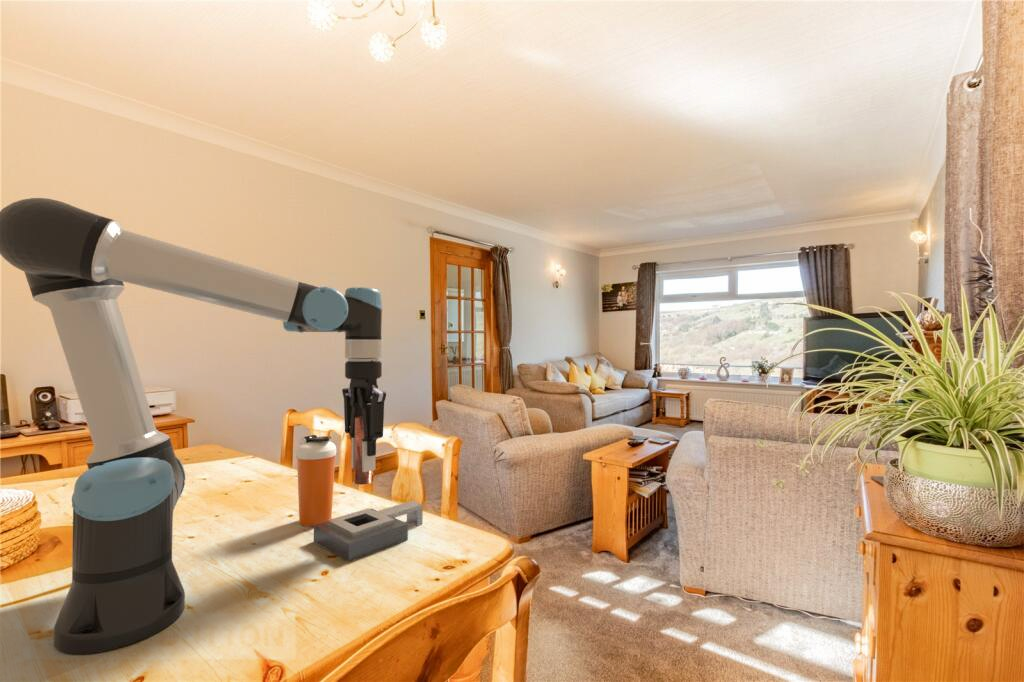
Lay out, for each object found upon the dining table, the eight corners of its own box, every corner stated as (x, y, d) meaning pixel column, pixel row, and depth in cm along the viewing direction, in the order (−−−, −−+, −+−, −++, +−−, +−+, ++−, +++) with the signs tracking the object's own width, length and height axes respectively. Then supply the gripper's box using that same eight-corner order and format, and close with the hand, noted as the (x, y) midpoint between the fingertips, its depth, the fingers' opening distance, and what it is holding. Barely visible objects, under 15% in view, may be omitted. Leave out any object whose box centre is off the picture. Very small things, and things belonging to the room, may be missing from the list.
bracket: (352, 555, 94) (352, 532, 95) (327, 541, 101) (327, 520, 101) (430, 526, 110) (430, 507, 110) (404, 516, 116) (404, 497, 116)
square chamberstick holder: (348, 561, 92) (348, 543, 92) (313, 541, 101) (313, 525, 101) (407, 539, 102) (407, 523, 102) (371, 523, 111) (371, 508, 111)
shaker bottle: (321, 529, 107) (322, 441, 107) (286, 526, 109) (287, 439, 109) (342, 515, 116) (344, 434, 116) (310, 512, 118) (311, 432, 118)
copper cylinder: (360, 485, 99) (360, 418, 99) (351, 482, 102) (351, 417, 102) (375, 481, 102) (375, 416, 102) (366, 478, 104) (366, 415, 104)
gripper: (401, 360, 99) (401, 472, 99) (358, 358, 110) (357, 459, 110) (369, 361, 94) (369, 480, 94) (327, 359, 104) (327, 465, 104)
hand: (363, 468), depth 102 cm, fingers closed on copper cylinder, 4 cm apart
